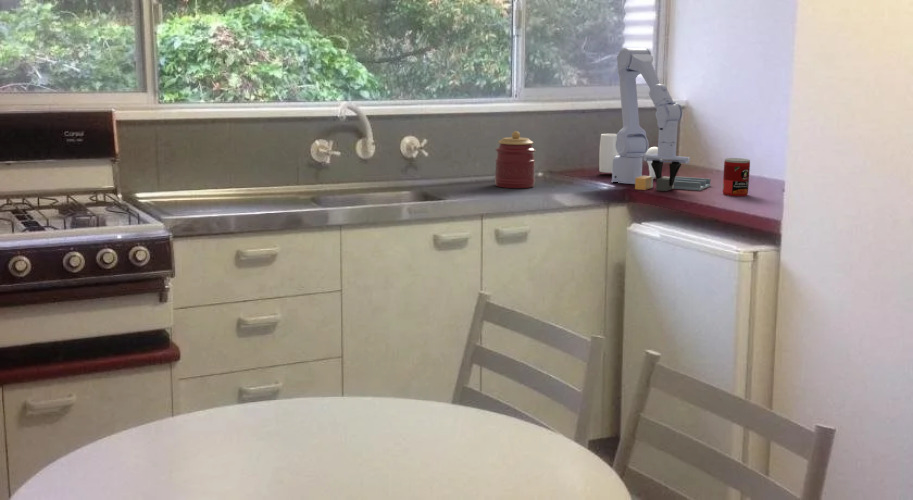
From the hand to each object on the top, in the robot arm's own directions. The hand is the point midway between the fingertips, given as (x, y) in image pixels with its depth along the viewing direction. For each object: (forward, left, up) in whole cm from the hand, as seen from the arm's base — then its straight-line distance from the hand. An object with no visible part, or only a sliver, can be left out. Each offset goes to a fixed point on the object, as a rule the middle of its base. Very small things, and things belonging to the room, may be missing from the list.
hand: (665, 184), depth 345 cm
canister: (-44, -19, -2) cm, 48 cm away
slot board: (+4, +11, -2) cm, 12 cm away
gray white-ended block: (0, 0, -1) cm, 1 cm away
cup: (-28, +27, -2) cm, 39 cm away
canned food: (+22, +1, -2) cm, 22 cm away
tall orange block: (-7, 0, -2) cm, 7 cm away
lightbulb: (-12, +25, -2) cm, 28 cm away
